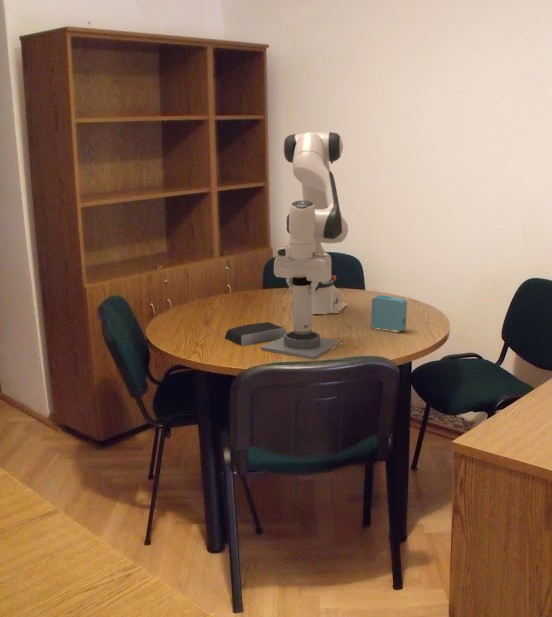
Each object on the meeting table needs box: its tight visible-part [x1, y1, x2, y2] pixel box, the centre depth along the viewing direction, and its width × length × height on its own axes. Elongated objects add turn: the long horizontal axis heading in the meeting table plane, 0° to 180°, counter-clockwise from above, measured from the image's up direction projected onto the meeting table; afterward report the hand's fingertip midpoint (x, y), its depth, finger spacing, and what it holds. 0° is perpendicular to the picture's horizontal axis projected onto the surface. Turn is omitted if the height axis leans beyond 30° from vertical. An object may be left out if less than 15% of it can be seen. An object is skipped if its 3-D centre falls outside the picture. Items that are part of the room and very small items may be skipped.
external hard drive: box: [224, 321, 288, 347], centre depth 254 cm, size 13×19×4 cm
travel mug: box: [292, 277, 313, 335], centre depth 239 cm, size 6×7×20 cm
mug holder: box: [260, 330, 343, 360], centre depth 242 cm, size 20×20×4 cm
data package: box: [370, 295, 408, 332], centre depth 262 cm, size 12×4×12 cm, turn 56°
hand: (302, 292), depth 238 cm, fingers closed on travel mug, 6 cm apart
